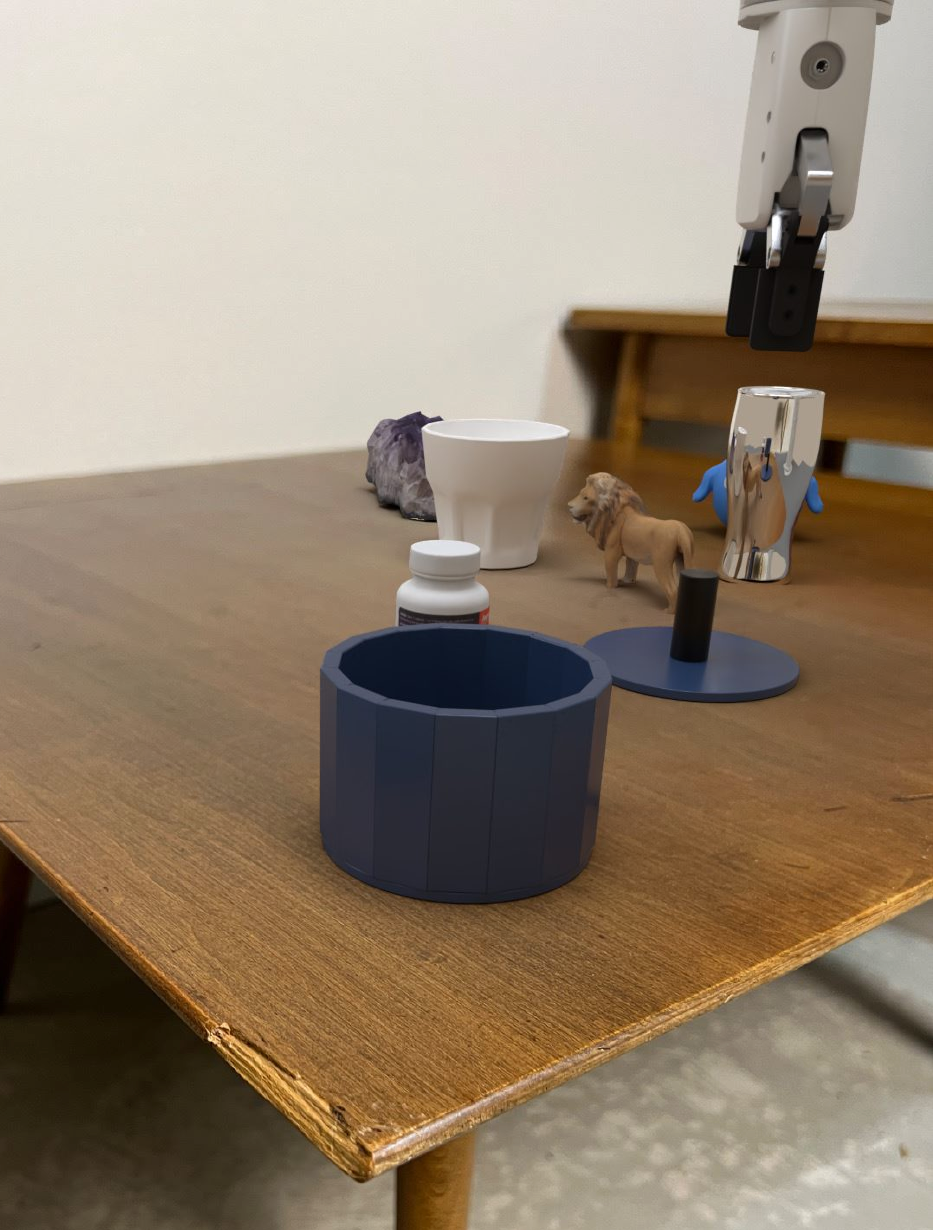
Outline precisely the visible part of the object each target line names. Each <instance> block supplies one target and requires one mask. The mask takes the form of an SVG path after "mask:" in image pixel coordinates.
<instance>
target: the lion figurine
mask: <svg viewBox="0 0 933 1230" xmlns="http://www.w3.org/2000/svg"><path fill="white" fill-rule="evenodd" d="M585 480H586V481H585V482H586V485H585V487H583V488H582V489H580V492H579V494H578V495H577V496H576V497H574V498H573V499H571V500H570V501H568V502H567V507H568V510H569V512H570V513H571V514H572V522H573V524H575V525H580V524H583V527H584V530H585V533H587V534H588V535H589V536H591V537H592V538H593V539H594V543H595V547H596V548H597V549H598V550H600V551H602V552H604V569H605V575H606V583H602V584H601V586H602V587H605V588H609V589H615V588H618V583H619V577H618V576H619V575H618V569H619V564H620V562H621V560H622V558H623V557H625V570H624V575H623V577H622V579H621V582H622V583H627V584H635V583H636V581H637V575H638V569H639V564H641V565H645V566H652V568H653V571H654V575H655V578H656V580H657V583H658V584H659V586H660V587H661V590H663V592H664V594H665V596H666V598H667V600H668V601H667V602H668V604H669V606H668V607H665V608H664V609H662V612H663V613H665V614H668V615H675V608H676V600H677V592H678V584H677V583H676V581H675V577H674V571H673V569H674V568H673V567H674V566H675V571H676V575H677V580H678V581H679V577H680V572H681V571H682V570H685V569H694V568H693V557H694V555H695V554H694V553H695V538H694V535H693V533H692V530H691V529H690V528H689V527H688V525H686V523H684V522H682V521H680V520H676V519H665V520H663V519H658V518H655V517H654V516H651V515H650V514H649V512H648V511H647V509H646V506H645V502H644V501H643V499H642V497H641V496H640V494H639V493H638V492H637V491H634V490H633V487H632V486H631V485H629V484H628V483H626V482H625V481H624V480H622V479H620V478H619V477H618V476H617V475H616V476H614V475H612V474H611V473H608V472H596V473H593V474H590V475H588V477H585Z"/></svg>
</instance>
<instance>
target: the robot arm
mask: <svg viewBox="0 0 933 1230" xmlns="http://www.w3.org/2000/svg"><path fill="white" fill-rule="evenodd" d="M894 5H895V0H740V2H739V9H738V18H737V26H740V27H741V28H743V29H747V30H751V31H756V32H757V31H758V33H757V41H756V47H755V53H754V61H753V66H752V72H751V80H750V81H751V82H750V86H749V87H750V88H749V95H748V101H747V108H746V116H745V124H744V131H743V139H742V145H741V155H740V163H739V172H738V173H739V175H738V181H737V191H736V203H735V222H736V223H737V224H738V225H739V226H740V227H741V228H742V232H741V234H740V239H739V243H738V248H737V253H736V264H733V268H732V275H731V282H730V290H729V296H728V303H727V304H728V305H727V310H726V319H725V326H724V333H725V335H726V336H728V337H729V338H747V339H748V346H749V348H751V349H752V350H753V351H761V352H790V353H791V352H792V353H807V352H808V351H810V350H811V349H812V348H813V344H814V339H815V332H816V326H817V319H818V314H819V308H820V301H821V295H822V291H823V290H822V289H823V284H824V278H825V272H826V271H825V270H824V268H825V264H826V260H827V250H828V246H827V245H828V244H827V242H828V241H827V240H828V232H836V231H841V230H842V229H844V228H845V227H846V226H848V225H849V223H850V222H851V221H852V220H853V217H854V214H855V209H856V204H857V203H856V202H857V195H858V187H859V181H860V173H861V166H862V158H863V151H864V143H865V135H866V127H867V120H868V113H869V106H870V105H869V104H870V95H871V89H872V79H873V71H874V59H875V48H876V46H875V45H876V29H877V26H881V25H885V24H887V23H888V22H889V21H891V20H892V14H893V7H894Z"/></svg>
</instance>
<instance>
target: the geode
mask: <svg viewBox="0 0 933 1230" xmlns="http://www.w3.org/2000/svg"><path fill="white" fill-rule="evenodd" d="M439 421H445V419H444V418H442V416H441V415H436V416H433V417H429V416H427V415H425V414H424V413H422V411H421V410H419V411H415V412H412V413H409V414H406V415H405V416H402V417H400V418H398V419H393V418H384V419H381V420H380V421H379V422H378V423H377V425H376V426H375V428H374V430H373V431H372V433H371V435H369V437H368V439H367V441H366V449H367V452H368V457H367V463H366V464H367V465H366V470H365V473H364V475H365V479H366V481H367V483H369V484H372V485H373V486H374V487H375V493H376V495H377V498H378V503H379V504H387V505H388V504H389V505H393V506H396V507H399V510H400V512H401V514H402V516H403V517H404V518H406V519H410V518H418V519H424V520H423V521H425V520H437V517H436V510H435V502H434V495H433V491H432V488H431V486H430V484H429V481H428V479H427V477H426V469H425V459H424V449H423V439H422V427H424V426H425V425H427V424H428V423H433V422H439Z"/></svg>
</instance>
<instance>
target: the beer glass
mask: <svg viewBox="0 0 933 1230" xmlns="http://www.w3.org/2000/svg"><path fill="white" fill-rule="evenodd" d="M825 396H826V392H824V391H822V390H818V389H813V388H806V387H805V388H804V387H795V386H794V387H793V386H777V385H775V386H774V385H772V386H771V385H770V386H769V385H768V386H767V385H764V386H763V385H759V386H758V385H757V386H743V387H740V388H738V389H737V395H736V400H735V405H734V410H733V413H732V419H731V423H730V430H729V435H728V440H727V441H728V442H727V449H726V458H725V460H726V490H727V526H726V532H725V539H724V543H723V547H722V550H721V553H720V556H719V559H718V562H717V565H716V568H715V572H716V573H718V574H719V580H723V581H726V582H728V583H731V584H748V585H776V586H777V585H778V586H779V585H780V586H784V585H787V584H789V583H790V582H791V581H792V579H793V578H792V577H793V566H792V565H793V562H792V549H793V540H794V534H795V531H796V527H797V523H798V520H799V517H800V514H801V512H802V511H801V508H802V505H803V506H804V503H805V497H806V494H807V491H808V488H809V485H810V482H811V479H812V476H813V475H814V472H815V469H816V465H817V460H818V455H819V450H820V444H821V436H822V429H823V418H824V406H825V405H824V404H825ZM813 477H814V476H813ZM800 511H801V512H800Z"/></svg>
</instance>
